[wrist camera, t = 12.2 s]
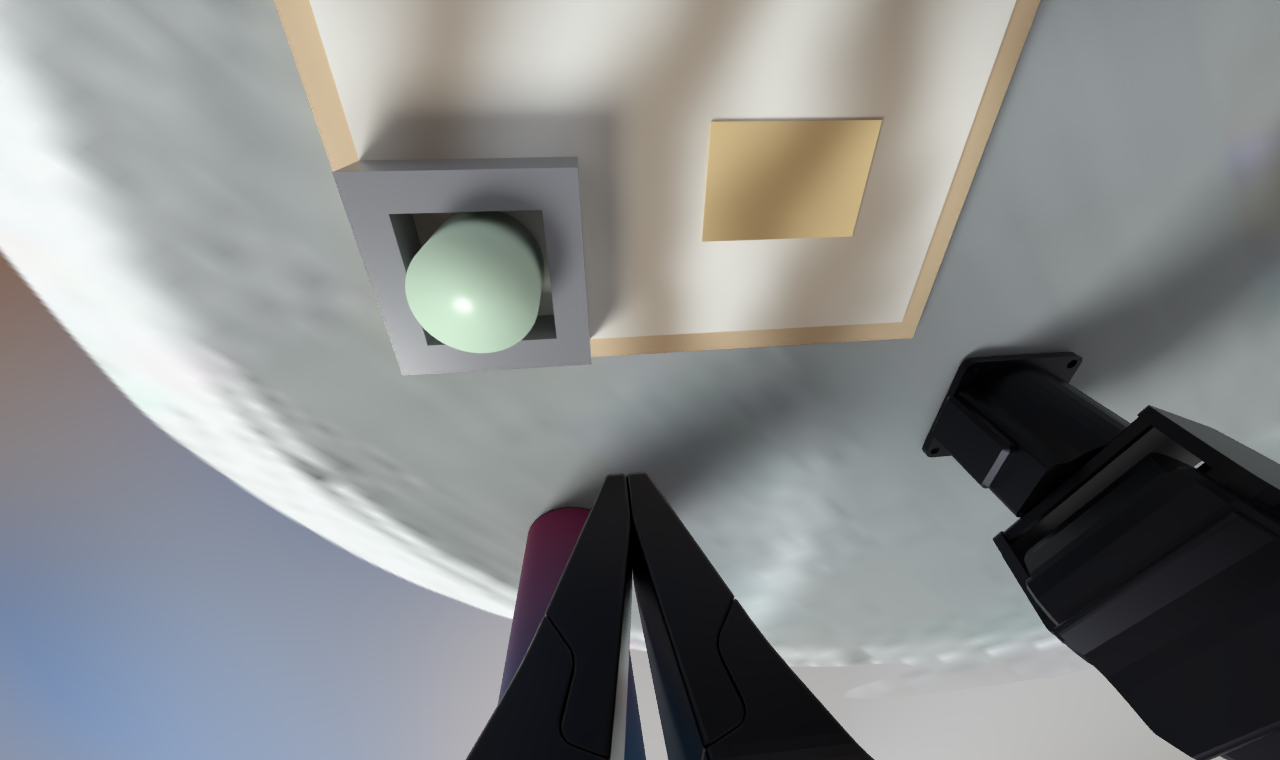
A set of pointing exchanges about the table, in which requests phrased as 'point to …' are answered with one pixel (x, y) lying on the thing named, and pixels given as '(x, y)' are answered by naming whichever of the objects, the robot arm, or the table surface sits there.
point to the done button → (477, 282)
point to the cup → (537, 585)
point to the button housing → (402, 187)
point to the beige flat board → (693, 143)
